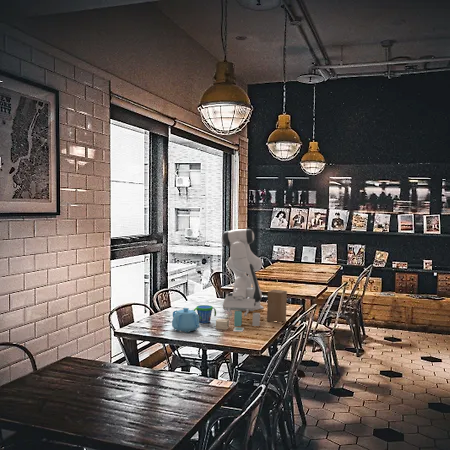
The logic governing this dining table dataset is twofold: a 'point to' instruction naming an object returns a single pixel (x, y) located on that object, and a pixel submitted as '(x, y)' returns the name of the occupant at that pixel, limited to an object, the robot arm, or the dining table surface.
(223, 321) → the maple block
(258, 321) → the grey block
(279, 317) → the wooden block
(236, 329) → the tile
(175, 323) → the decorative pot
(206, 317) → the snack cup
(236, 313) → the teal block
